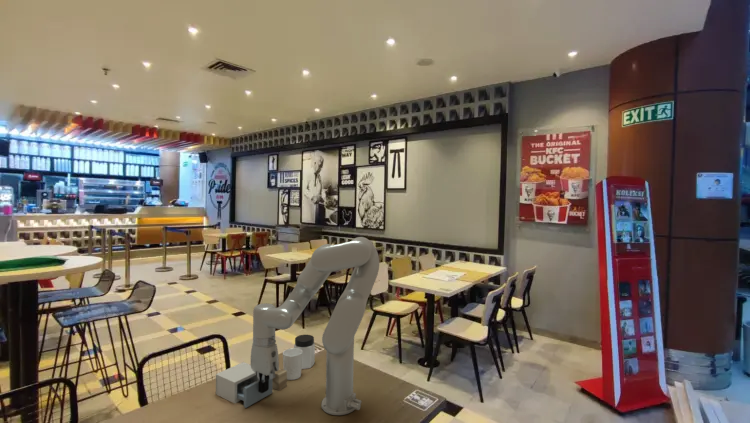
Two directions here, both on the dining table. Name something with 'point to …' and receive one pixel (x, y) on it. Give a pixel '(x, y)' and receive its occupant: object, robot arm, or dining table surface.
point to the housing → (233, 381)
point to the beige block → (280, 379)
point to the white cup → (292, 363)
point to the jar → (306, 349)
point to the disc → (245, 385)
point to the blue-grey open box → (253, 393)
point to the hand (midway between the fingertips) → (263, 390)
